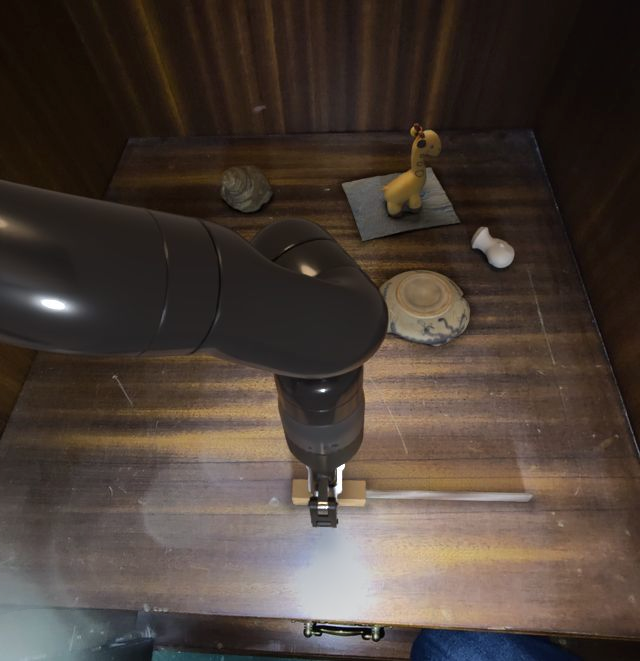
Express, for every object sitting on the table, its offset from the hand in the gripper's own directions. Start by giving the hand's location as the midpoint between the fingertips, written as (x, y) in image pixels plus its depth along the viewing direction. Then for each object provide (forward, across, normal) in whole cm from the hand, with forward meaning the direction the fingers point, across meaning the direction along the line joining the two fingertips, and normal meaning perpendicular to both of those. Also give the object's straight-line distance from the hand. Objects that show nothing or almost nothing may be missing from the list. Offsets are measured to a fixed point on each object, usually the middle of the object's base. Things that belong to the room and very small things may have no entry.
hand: (328, 474), depth 59 cm
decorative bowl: (+8, -30, +14) cm, 34 cm away
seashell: (+8, -57, -16) cm, 60 cm away
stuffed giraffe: (+8, -54, +11) cm, 56 cm away
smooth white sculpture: (+8, -41, +26) cm, 50 cm away
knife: (+7, 0, +10) cm, 12 cm away
